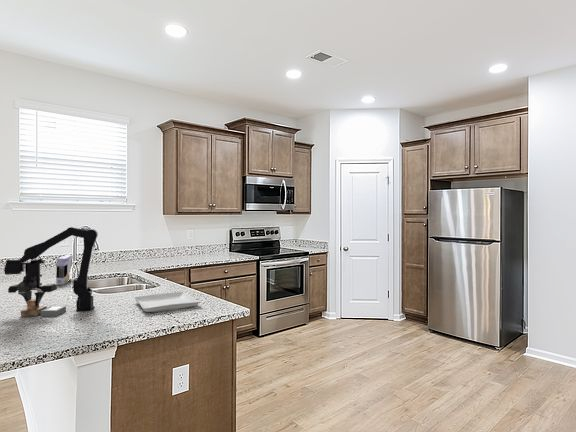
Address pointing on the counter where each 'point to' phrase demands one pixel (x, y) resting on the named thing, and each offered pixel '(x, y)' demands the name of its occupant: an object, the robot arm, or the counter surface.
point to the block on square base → (32, 309)
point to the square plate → (166, 301)
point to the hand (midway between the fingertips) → (33, 306)
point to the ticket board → (53, 311)
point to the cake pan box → (63, 269)
